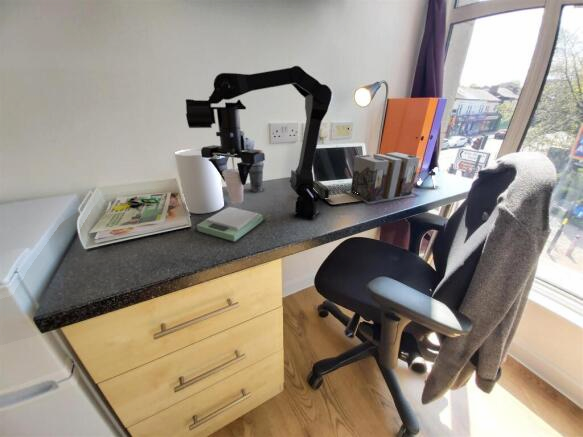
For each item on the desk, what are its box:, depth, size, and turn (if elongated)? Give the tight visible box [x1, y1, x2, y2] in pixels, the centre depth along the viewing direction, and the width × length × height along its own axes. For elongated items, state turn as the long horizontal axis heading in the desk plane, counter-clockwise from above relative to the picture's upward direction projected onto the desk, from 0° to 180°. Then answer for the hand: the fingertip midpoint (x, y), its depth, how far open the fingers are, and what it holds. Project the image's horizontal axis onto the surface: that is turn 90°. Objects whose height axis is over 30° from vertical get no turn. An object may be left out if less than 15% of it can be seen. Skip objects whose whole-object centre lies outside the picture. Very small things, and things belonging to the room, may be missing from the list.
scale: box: [196, 206, 264, 243], centre depth 74 cm, size 14×15×3 cm
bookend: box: [345, 151, 421, 205], centre depth 98 cm, size 16×25×16 cm, turn 113°
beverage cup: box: [248, 161, 265, 193], centre depth 101 cm, size 7×7×20 cm
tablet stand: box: [415, 167, 439, 190], centre depth 109 cm, size 9×8×8 cm
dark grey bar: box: [313, 180, 332, 202], centre depth 98 cm, size 5×3×15 cm
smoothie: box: [222, 156, 244, 205], centre depth 70 cm, size 6×6×14 cm
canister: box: [174, 147, 225, 215], centre depth 84 cm, size 14×14×20 cm
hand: (234, 183), depth 71 cm, fingers closed on smoothie, 6 cm apart
